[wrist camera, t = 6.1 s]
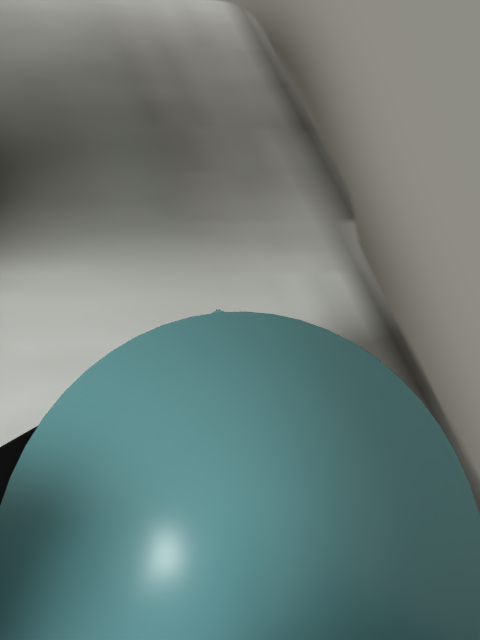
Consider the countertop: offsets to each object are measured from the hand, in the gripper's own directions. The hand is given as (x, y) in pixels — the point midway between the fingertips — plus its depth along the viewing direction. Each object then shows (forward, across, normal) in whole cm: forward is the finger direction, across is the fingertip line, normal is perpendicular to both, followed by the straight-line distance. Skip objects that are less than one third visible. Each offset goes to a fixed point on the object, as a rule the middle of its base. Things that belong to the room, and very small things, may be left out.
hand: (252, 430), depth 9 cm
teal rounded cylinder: (+4, 0, +6) cm, 7 cm away
